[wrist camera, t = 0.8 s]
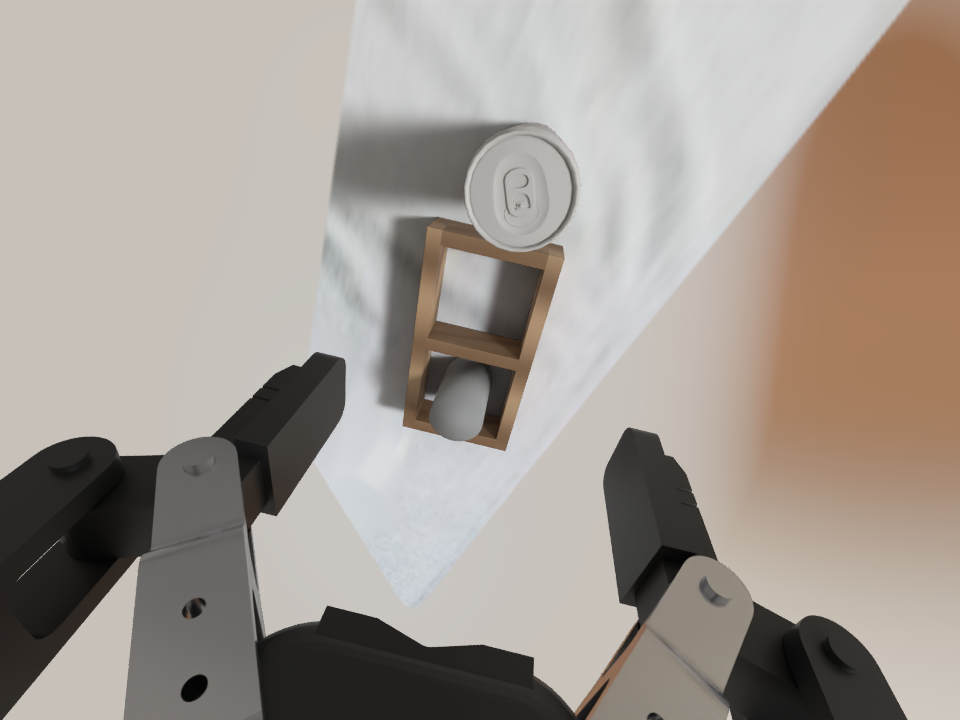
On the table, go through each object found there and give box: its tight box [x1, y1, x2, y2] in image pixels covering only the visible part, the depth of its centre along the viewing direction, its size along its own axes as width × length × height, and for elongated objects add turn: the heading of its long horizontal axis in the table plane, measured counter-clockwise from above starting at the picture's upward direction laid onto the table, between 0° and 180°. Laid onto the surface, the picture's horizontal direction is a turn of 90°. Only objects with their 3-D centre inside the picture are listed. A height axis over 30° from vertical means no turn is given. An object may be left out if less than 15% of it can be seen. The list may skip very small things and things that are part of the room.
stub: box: [429, 357, 492, 441], centre depth 33 cm, size 4×4×6 cm
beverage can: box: [464, 123, 581, 252], centre depth 21 cm, size 5×5×12 cm
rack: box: [403, 217, 564, 451], centre depth 32 cm, size 17×9×3 cm, turn 169°
